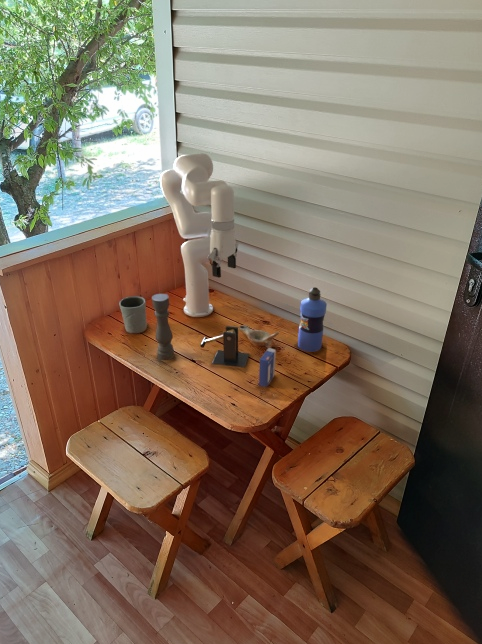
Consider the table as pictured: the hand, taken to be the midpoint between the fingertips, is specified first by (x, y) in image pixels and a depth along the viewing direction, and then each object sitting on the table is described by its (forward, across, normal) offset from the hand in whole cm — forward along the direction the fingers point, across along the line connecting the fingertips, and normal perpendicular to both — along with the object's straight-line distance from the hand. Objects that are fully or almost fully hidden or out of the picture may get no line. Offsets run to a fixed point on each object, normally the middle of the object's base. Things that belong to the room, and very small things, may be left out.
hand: (224, 271), depth 170 cm
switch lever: (+21, +11, +5) cm, 25 cm away
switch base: (+30, +10, +8) cm, 32 cm away
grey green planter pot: (+29, +10, -37) cm, 48 cm away
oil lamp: (+30, -6, +10) cm, 32 cm away
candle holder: (+30, +21, -13) cm, 38 cm away
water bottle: (+30, -14, +29) cm, 44 cm away
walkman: (+30, +14, +26) cm, 42 cm away
